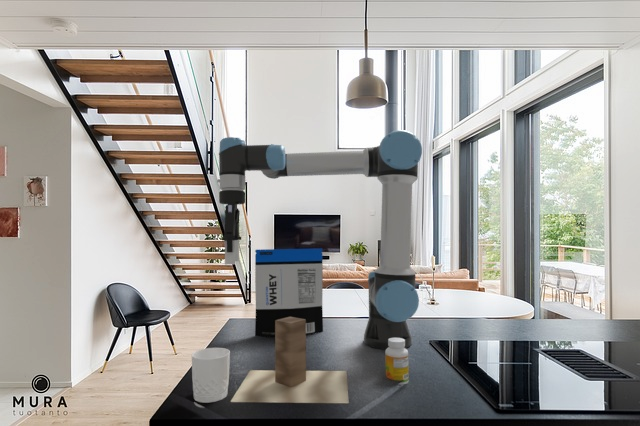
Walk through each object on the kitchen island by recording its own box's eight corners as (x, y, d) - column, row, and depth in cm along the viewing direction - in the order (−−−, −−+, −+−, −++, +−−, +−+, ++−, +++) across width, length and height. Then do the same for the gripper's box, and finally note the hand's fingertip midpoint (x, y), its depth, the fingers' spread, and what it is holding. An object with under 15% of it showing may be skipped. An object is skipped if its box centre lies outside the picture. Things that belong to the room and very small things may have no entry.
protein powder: (326, 334, 132) (325, 249, 134) (256, 339, 127) (256, 250, 129) (319, 328, 142) (319, 248, 143) (254, 332, 136) (254, 249, 138)
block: (274, 381, 87) (274, 320, 88) (289, 375, 91) (289, 316, 92) (291, 387, 84) (290, 323, 85) (306, 380, 88) (305, 319, 88)
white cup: (196, 394, 83) (196, 348, 84) (232, 392, 84) (232, 347, 85) (186, 410, 76) (187, 359, 76) (226, 409, 76) (227, 358, 77)
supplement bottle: (384, 376, 93) (383, 336, 93) (406, 376, 93) (405, 336, 93) (387, 385, 87) (386, 342, 88) (410, 385, 87) (410, 342, 88)
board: (346, 375, 94) (346, 371, 94) (348, 409, 76) (348, 403, 76) (250, 375, 95) (250, 370, 95) (230, 407, 77) (230, 401, 77)
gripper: (224, 195, 124) (224, 260, 123) (213, 184, 99) (212, 266, 98) (247, 195, 125) (247, 259, 124) (242, 185, 100) (242, 265, 99)
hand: (232, 262), depth 111 cm, fingers open, 13 cm apart
